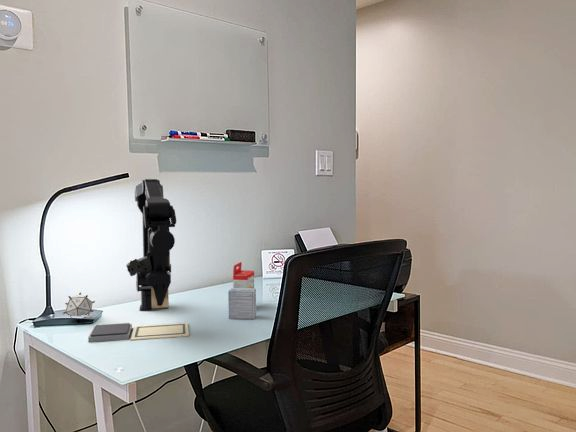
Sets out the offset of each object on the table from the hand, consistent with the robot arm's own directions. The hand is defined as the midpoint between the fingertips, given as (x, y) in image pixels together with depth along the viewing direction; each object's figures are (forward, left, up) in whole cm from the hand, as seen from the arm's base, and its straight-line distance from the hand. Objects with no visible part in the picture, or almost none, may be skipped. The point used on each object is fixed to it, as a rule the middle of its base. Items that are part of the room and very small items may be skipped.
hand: (160, 303), depth 136 cm
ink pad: (0, -13, -8) cm, 15 cm away
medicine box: (-9, +24, -8) cm, 27 cm away
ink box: (-20, +26, -8) cm, 34 cm away
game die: (-17, -24, -8) cm, 30 cm away
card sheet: (0, 0, -8) cm, 8 cm away
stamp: (0, 0, -1) cm, 1 cm away
